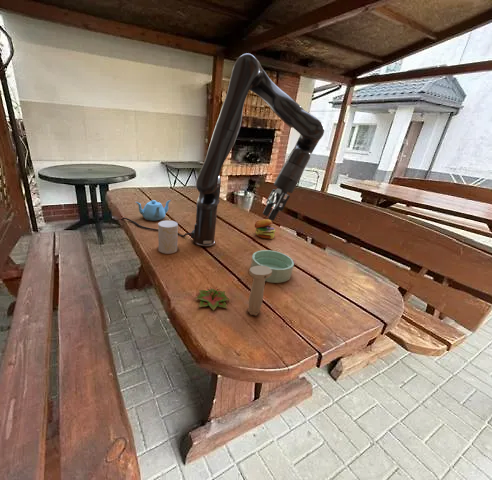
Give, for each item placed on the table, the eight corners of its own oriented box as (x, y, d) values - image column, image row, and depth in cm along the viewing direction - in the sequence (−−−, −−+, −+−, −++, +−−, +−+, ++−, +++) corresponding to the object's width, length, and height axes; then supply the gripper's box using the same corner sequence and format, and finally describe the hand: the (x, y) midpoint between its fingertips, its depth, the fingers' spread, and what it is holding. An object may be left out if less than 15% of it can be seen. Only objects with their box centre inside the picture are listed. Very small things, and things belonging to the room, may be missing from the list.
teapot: (150, 212, 159) (149, 195, 154) (172, 216, 154) (172, 199, 150) (135, 219, 146) (135, 201, 142) (159, 224, 141) (159, 206, 137)
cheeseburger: (267, 241, 130) (266, 221, 127) (250, 239, 138) (249, 220, 135) (279, 236, 136) (278, 217, 133) (262, 234, 144) (261, 216, 141)
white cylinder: (162, 254, 110) (161, 228, 105) (156, 246, 116) (155, 221, 111) (180, 251, 113) (180, 226, 108) (173, 244, 120) (173, 219, 115)
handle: (266, 315, 79) (275, 272, 73) (248, 320, 76) (255, 276, 70) (258, 305, 83) (265, 264, 77) (240, 309, 80) (246, 267, 74)
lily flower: (229, 290, 90) (230, 278, 88) (233, 313, 79) (234, 301, 77) (194, 288, 89) (194, 277, 87) (193, 311, 78) (193, 299, 76)
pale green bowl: (249, 280, 96) (251, 265, 94) (250, 260, 110) (252, 247, 108) (292, 286, 94) (296, 272, 92) (288, 266, 108) (291, 253, 106)
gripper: (274, 172, 101) (254, 210, 105) (286, 173, 88) (263, 217, 92) (290, 180, 103) (271, 217, 106) (305, 183, 89) (282, 225, 93)
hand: (267, 217), depth 99 cm, fingers open, 8 cm apart
